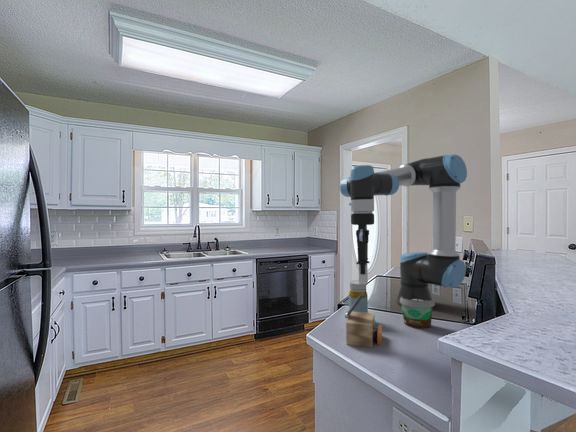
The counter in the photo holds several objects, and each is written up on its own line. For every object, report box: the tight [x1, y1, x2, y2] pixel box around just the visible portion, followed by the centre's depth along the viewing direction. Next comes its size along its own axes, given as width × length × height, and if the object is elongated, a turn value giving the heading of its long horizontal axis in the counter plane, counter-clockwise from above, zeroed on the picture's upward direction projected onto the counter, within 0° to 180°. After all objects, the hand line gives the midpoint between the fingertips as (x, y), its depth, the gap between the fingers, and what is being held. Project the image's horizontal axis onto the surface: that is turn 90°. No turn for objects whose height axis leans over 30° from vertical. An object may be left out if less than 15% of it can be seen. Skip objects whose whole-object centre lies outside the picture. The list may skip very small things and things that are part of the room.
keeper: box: [344, 292, 364, 319], centre depth 107 cm, size 10×5×1 cm
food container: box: [400, 297, 436, 330], centre depth 116 cm, size 12×6×10 cm, turn 70°
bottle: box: [348, 279, 369, 313], centre depth 123 cm, size 7×7×15 cm
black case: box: [373, 324, 383, 346], centre depth 106 cm, size 11×7×4 cm, turn 72°
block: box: [345, 311, 376, 348], centre depth 106 cm, size 8×12×7 cm, turn 161°
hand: (363, 283), depth 106 cm, fingers closed
